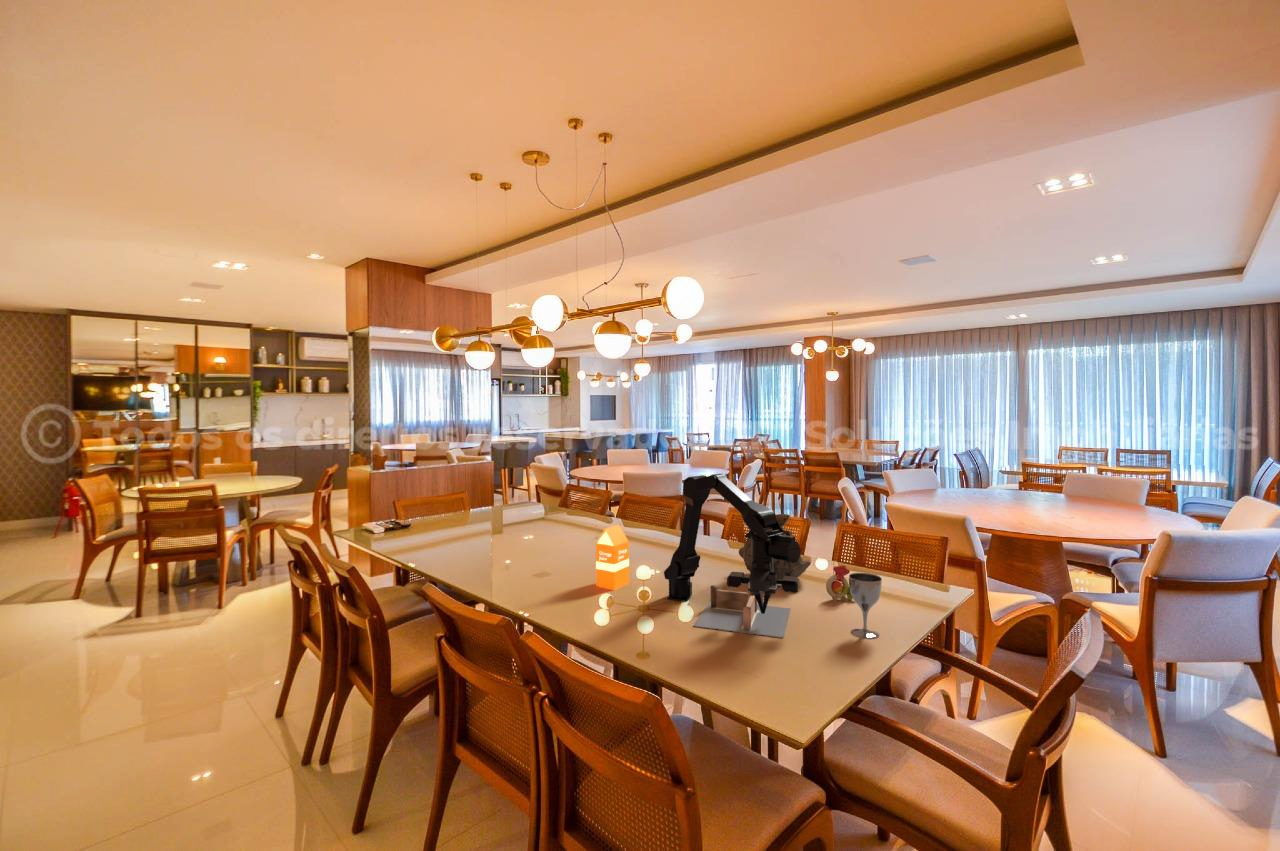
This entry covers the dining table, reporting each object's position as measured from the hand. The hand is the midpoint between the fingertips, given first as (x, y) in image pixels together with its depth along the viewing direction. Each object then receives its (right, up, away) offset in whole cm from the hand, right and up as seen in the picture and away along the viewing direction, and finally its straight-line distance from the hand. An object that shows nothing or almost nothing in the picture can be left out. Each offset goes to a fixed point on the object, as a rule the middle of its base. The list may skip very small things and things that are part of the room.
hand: (763, 613), depth 152 cm
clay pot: (+13, -3, +42) cm, 44 cm away
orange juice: (-43, -3, +38) cm, 57 cm away
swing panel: (-3, -3, +3) cm, 5 cm away
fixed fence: (-6, -3, +13) cm, 15 cm away
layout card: (-4, -4, +7) cm, 9 cm away
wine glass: (+26, -4, -5) cm, 27 cm away
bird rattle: (+29, -3, +22) cm, 36 cm away
